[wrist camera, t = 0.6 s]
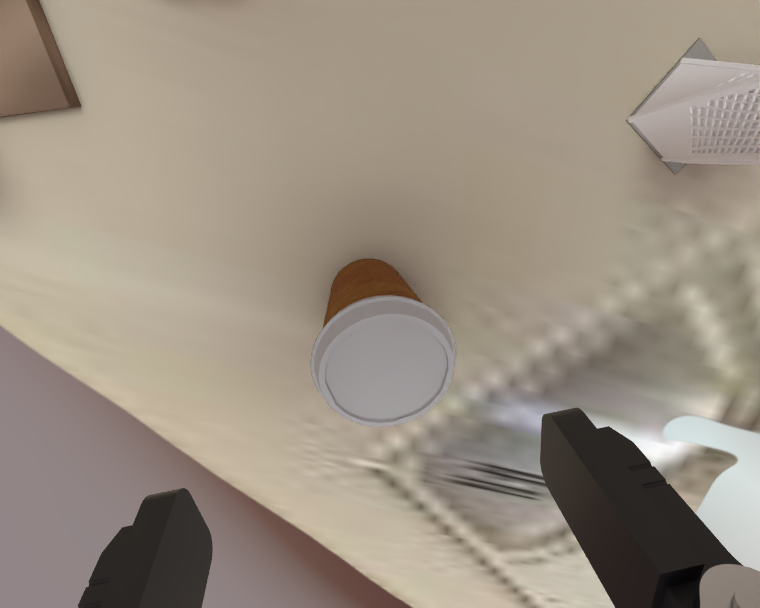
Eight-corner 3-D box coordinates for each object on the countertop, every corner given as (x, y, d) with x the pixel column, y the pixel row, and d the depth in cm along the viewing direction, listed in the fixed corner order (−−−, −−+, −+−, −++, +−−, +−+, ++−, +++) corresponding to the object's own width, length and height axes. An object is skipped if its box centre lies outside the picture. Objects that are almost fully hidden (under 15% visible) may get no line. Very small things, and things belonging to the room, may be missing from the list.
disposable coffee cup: (442, 296, 39) (489, 375, 28) (359, 357, 41) (375, 454, 30) (375, 216, 35) (402, 274, 24) (288, 288, 37) (277, 372, 26)
